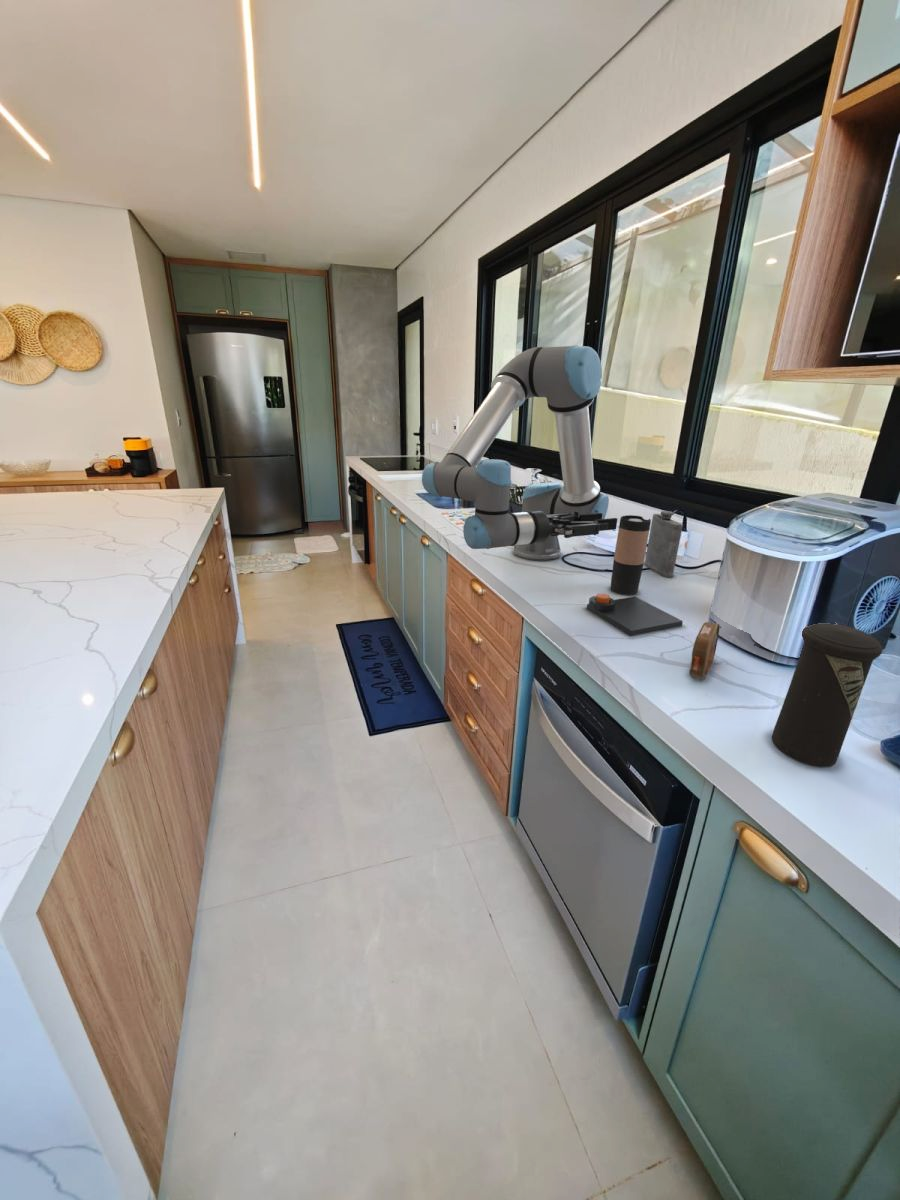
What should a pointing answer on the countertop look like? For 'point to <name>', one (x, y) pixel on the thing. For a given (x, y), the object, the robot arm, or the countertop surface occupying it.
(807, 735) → the container
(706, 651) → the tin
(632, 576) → the travel mug
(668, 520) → the flask
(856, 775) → the countertop surface
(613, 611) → the scale
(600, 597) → the tare button
